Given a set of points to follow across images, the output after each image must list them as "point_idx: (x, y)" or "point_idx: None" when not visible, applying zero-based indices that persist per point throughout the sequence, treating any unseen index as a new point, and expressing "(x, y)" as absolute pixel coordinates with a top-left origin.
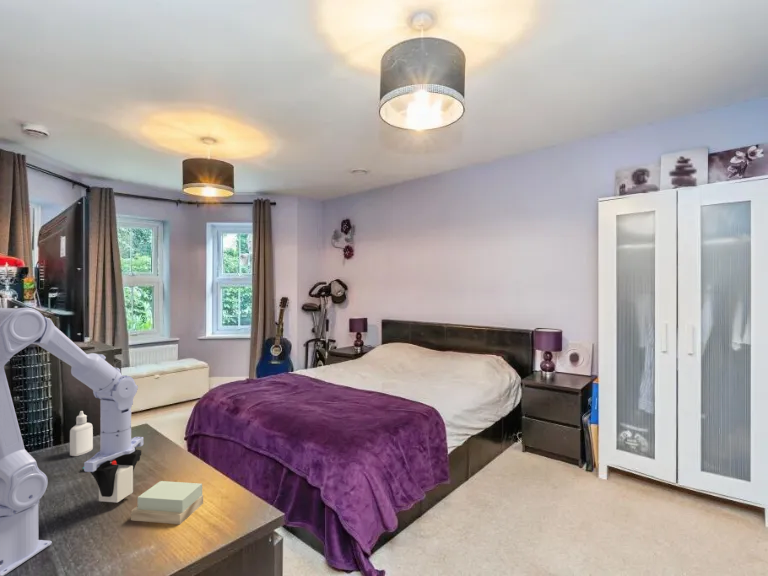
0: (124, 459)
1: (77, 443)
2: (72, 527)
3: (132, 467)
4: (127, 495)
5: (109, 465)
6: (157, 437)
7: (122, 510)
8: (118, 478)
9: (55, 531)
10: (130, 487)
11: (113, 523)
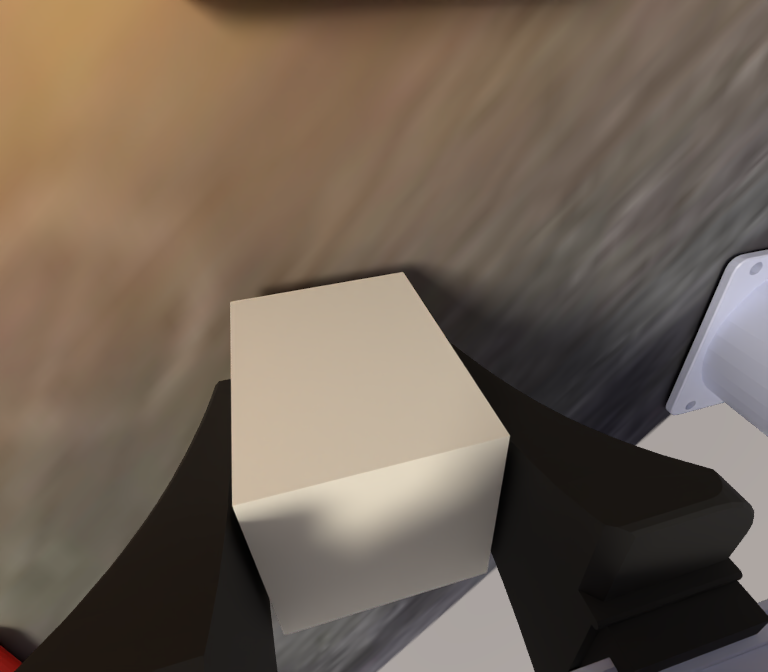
0: (255, 660)
1: None
2: (593, 304)
3: (240, 484)
4: (296, 291)
5: (635, 589)
6: None
7: (412, 188)
8: (473, 399)
9: (617, 342)
10: (263, 327)
11: (576, 94)
